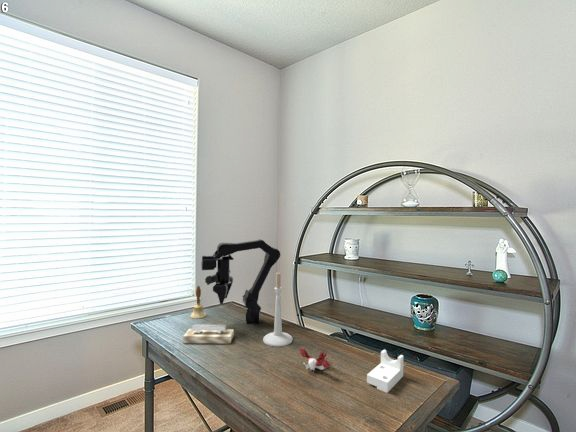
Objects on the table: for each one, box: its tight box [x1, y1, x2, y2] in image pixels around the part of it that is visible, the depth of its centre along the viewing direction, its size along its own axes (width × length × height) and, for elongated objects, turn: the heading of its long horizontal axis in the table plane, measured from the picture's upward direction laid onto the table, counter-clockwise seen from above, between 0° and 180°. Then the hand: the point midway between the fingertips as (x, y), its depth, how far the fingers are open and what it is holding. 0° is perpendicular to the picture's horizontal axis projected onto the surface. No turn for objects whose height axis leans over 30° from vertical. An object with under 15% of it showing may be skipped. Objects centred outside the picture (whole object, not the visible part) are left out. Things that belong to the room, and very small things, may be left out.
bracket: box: [366, 349, 404, 394], centre depth 109 cm, size 13×7×8 cm, turn 139°
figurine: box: [299, 345, 334, 374], centre depth 116 cm, size 15×12×7 cm
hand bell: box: [189, 285, 207, 320], centre depth 169 cm, size 8×8×16 cm
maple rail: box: [182, 328, 235, 345], centre depth 140 cm, size 20×8×3 cm, turn 90°
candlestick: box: [262, 272, 294, 348], centre depth 140 cm, size 13×13×30 cm
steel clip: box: [191, 323, 227, 334], centre depth 140 cm, size 14×2×6 cm, turn 90°
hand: (223, 301), depth 156 cm, fingers open, 9 cm apart
